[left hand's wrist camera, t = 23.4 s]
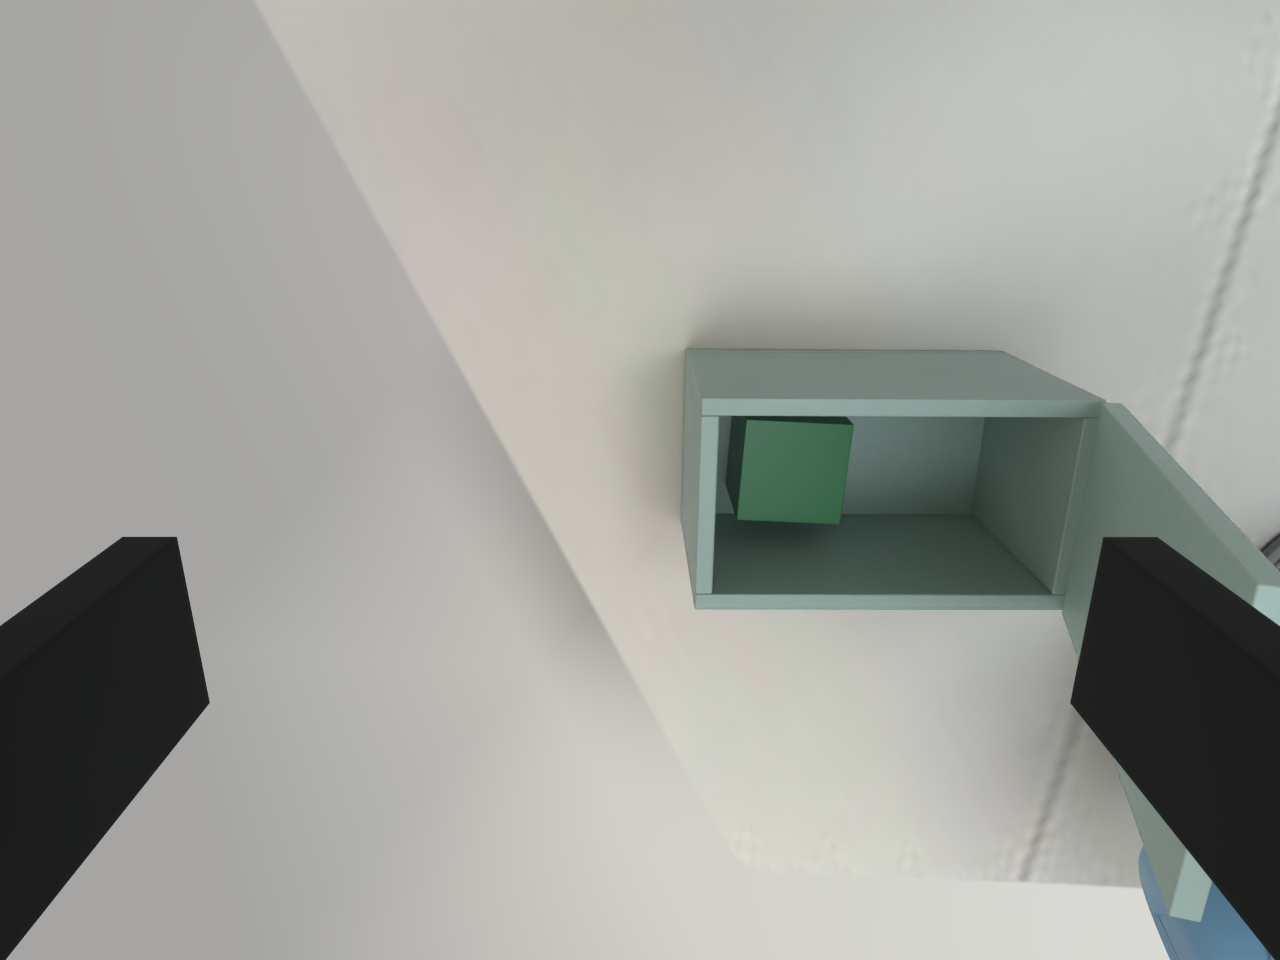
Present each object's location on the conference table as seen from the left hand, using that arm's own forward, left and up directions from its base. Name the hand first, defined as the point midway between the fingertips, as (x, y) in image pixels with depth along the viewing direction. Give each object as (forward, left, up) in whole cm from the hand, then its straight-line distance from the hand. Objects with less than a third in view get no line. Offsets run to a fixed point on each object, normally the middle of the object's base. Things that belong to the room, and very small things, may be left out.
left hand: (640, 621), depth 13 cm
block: (+11, +1, -35) cm, 37 cm away
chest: (+14, +4, -36) cm, 39 cm away
